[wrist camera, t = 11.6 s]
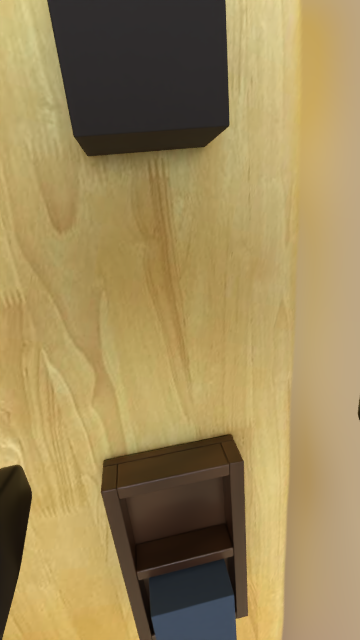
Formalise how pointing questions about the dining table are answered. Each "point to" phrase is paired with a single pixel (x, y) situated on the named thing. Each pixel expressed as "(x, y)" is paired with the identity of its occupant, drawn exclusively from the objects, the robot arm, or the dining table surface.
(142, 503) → the dark wooden tray
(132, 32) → the pad charcoal
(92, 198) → the dining table surface
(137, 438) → the dining table surface
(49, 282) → the dining table surface
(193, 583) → the slate blue square block
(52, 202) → the dining table surface
